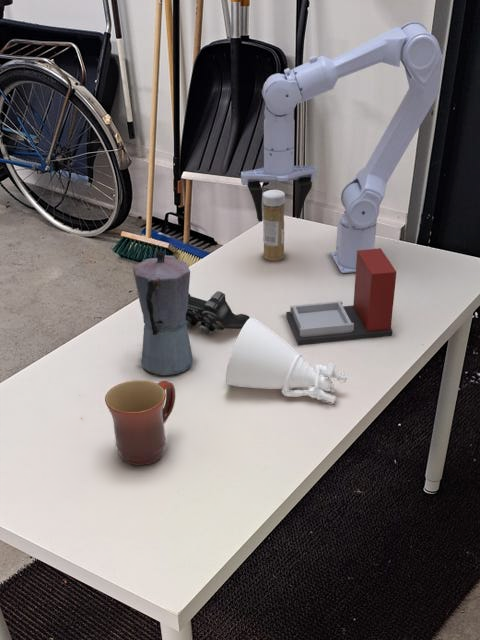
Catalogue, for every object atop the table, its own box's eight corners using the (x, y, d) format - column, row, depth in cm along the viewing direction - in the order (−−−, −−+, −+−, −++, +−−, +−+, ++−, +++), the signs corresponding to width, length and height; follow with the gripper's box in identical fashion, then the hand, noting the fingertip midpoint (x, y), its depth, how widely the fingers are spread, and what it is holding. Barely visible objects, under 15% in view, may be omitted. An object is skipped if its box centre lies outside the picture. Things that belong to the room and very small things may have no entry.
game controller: (167, 329, 164) (147, 296, 155) (185, 302, 165) (166, 267, 156) (237, 352, 156) (220, 319, 148) (255, 323, 158) (239, 288, 149)
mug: (142, 478, 125) (135, 420, 118) (101, 456, 129) (92, 399, 122) (197, 440, 132) (193, 383, 125) (156, 421, 136) (150, 364, 129)
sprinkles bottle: (289, 256, 181) (289, 192, 172) (273, 263, 178) (273, 198, 169) (273, 250, 183) (273, 187, 174) (258, 257, 181) (257, 193, 172)
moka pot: (201, 344, 154) (194, 235, 141) (189, 390, 142) (180, 277, 129) (149, 342, 155) (137, 234, 141) (133, 388, 143) (118, 275, 130)
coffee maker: (286, 316, 161) (286, 255, 153) (375, 307, 163) (381, 246, 155) (297, 345, 153) (299, 282, 145) (392, 335, 154) (398, 272, 146)
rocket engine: (356, 346, 133) (250, 306, 135) (328, 414, 132) (221, 372, 134) (354, 368, 144) (256, 331, 146) (327, 430, 143) (230, 392, 146)
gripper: (244, 156, 157) (246, 228, 166) (321, 150, 159) (318, 222, 168) (238, 144, 162) (240, 215, 171) (313, 138, 164) (310, 209, 173)
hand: (278, 217), depth 170 cm, fingers open, 7 cm apart
